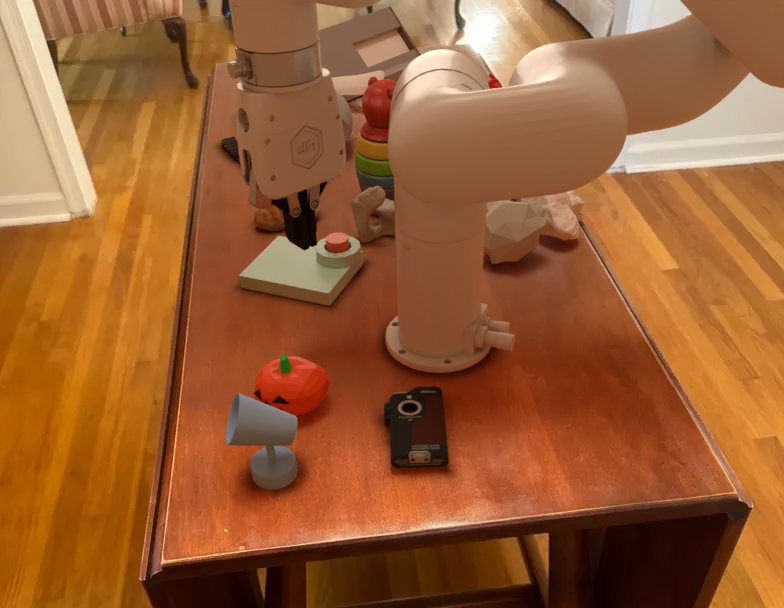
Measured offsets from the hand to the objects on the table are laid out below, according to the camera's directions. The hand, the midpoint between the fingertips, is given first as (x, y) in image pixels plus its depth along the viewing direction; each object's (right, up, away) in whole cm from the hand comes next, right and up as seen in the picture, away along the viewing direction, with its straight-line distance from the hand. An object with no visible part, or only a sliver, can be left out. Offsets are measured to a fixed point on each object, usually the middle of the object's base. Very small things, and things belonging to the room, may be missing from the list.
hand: (302, 243), depth 82 cm
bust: (+30, +11, +19) cm, 37 cm away
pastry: (-6, +12, +31) cm, 34 cm away
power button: (+2, +4, +19) cm, 19 cm away
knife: (-14, +28, +47) cm, 56 cm away
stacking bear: (+9, +15, +34) cm, 39 cm away
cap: (+28, +44, +59) cm, 79 cm away
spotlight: (-2, -25, -6) cm, 26 cm away
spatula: (-4, +46, +61) cm, 77 cm away
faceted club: (+25, +9, +27) cm, 38 cm away
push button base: (-2, +1, +20) cm, 20 cm away
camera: (+12, -21, -3) cm, 24 cm away
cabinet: (+10, +66, +80) cm, 104 cm away
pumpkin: (-1, -18, +1) cm, 18 cm away
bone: (+9, +9, +28) cm, 30 cm away
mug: (-1, +28, +42) cm, 50 cm away
